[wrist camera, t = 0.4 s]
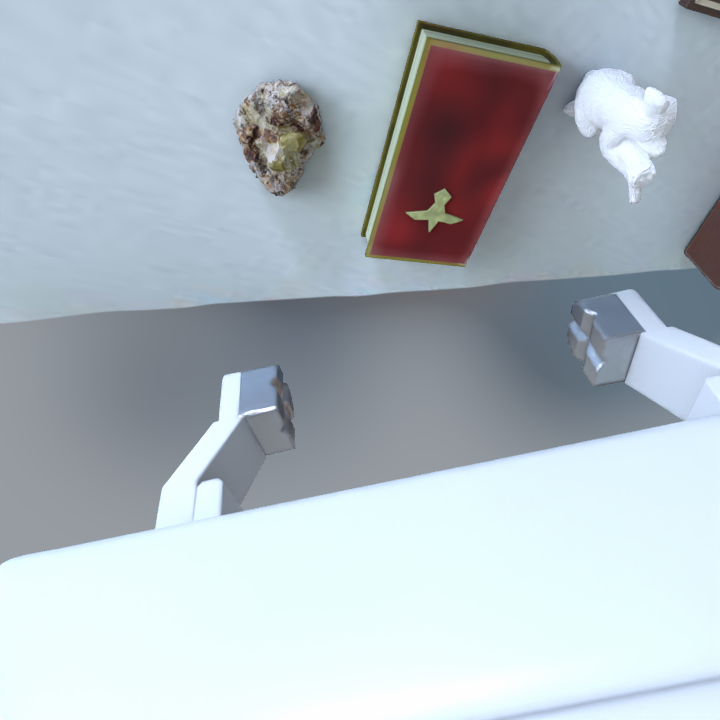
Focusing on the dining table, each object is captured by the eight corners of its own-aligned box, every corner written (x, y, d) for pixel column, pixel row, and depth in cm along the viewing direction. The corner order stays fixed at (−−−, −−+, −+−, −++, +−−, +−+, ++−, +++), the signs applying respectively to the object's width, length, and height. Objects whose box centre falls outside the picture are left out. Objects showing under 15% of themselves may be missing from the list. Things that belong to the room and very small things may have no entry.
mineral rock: (226, 77, 40) (324, 103, 40) (242, 57, 43) (334, 81, 43) (228, 194, 48) (309, 215, 48) (242, 171, 51) (319, 191, 51)
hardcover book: (548, 49, 43) (567, 69, 41) (459, 245, 59) (468, 268, 56) (417, 20, 40) (428, 39, 38) (360, 234, 56) (365, 258, 53)
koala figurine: (607, 137, 50) (667, 206, 43) (543, 139, 50) (592, 210, 42) (646, 43, 44) (725, 105, 36) (573, 44, 43) (639, 107, 36)
